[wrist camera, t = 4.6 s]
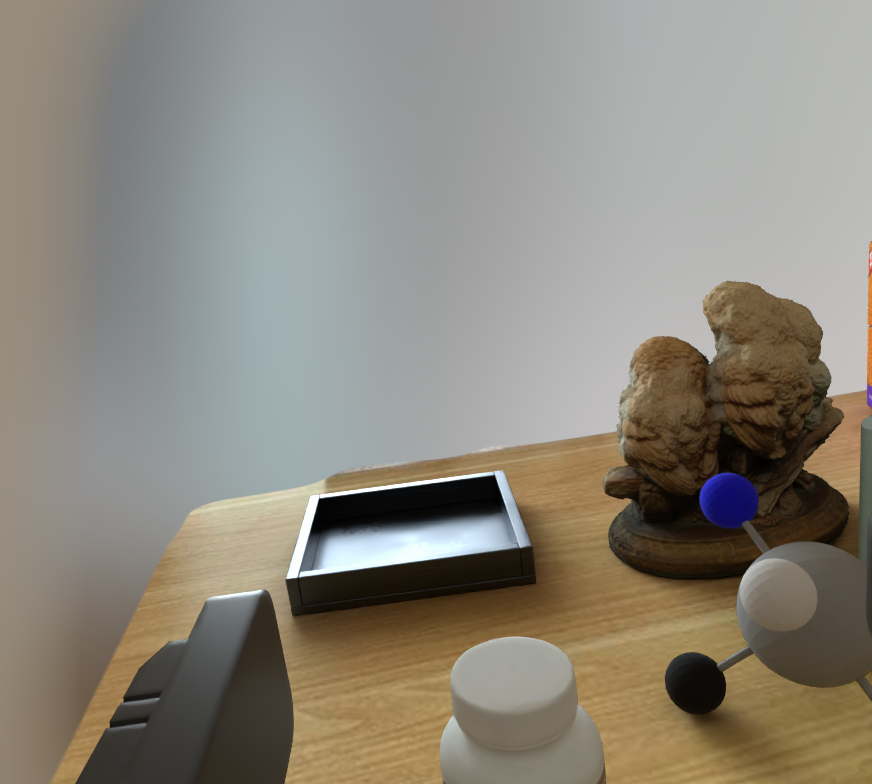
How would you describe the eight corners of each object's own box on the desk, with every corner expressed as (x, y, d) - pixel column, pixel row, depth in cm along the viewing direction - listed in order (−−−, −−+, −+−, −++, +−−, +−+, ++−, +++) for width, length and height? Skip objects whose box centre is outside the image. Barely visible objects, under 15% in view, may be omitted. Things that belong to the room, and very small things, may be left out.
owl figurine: (766, 471, 60) (764, 256, 56) (905, 523, 50) (915, 262, 45) (572, 532, 54) (553, 296, 50) (682, 606, 44) (670, 314, 39)
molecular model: (830, 864, 27) (835, 621, 25) (623, 672, 39) (612, 493, 36) (1046, 753, 31) (1070, 531, 28) (797, 607, 42) (798, 441, 40)
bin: (292, 616, 48) (285, 579, 47) (315, 525, 61) (310, 495, 61) (536, 583, 48) (532, 546, 48) (507, 499, 61) (503, 470, 61)
